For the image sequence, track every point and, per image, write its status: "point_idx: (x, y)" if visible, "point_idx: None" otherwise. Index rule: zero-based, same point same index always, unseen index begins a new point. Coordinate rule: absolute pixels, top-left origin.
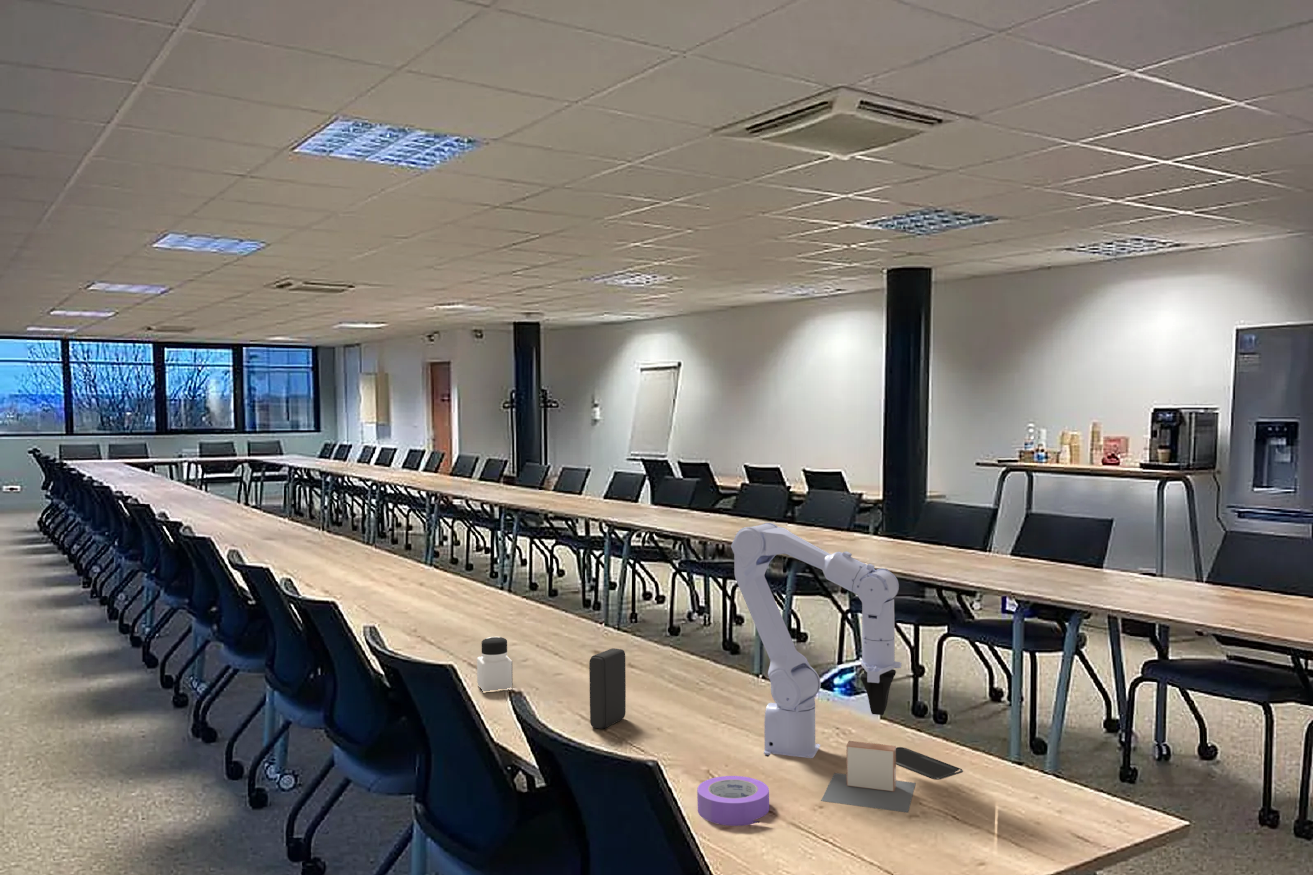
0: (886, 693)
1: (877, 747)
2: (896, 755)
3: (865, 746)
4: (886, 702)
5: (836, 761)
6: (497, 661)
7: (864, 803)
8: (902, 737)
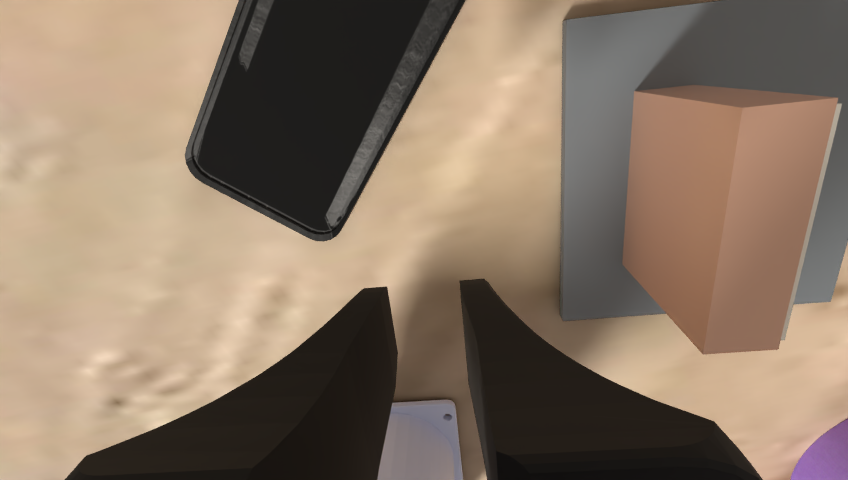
0: (577, 364)
1: (793, 203)
2: (285, 165)
3: (783, 265)
4: (375, 311)
5: (421, 338)
6: None
7: (838, 165)
8: (45, 192)
